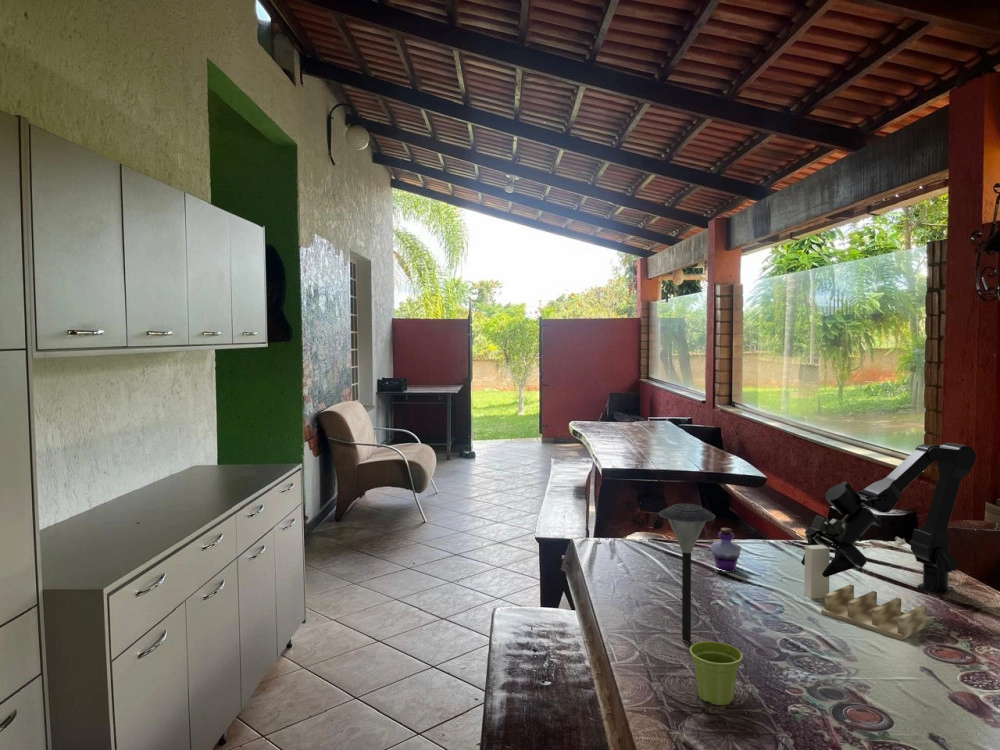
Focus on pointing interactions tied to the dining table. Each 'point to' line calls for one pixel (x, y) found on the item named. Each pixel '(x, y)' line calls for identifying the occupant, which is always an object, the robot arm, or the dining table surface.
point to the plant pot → (716, 670)
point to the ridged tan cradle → (874, 613)
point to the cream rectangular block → (816, 571)
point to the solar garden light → (686, 548)
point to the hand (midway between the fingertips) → (812, 570)
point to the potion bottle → (726, 551)
